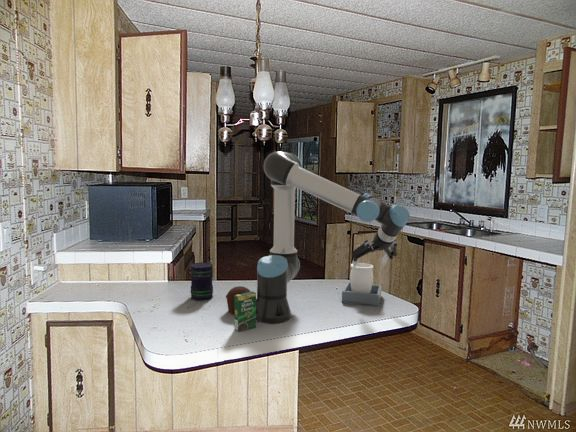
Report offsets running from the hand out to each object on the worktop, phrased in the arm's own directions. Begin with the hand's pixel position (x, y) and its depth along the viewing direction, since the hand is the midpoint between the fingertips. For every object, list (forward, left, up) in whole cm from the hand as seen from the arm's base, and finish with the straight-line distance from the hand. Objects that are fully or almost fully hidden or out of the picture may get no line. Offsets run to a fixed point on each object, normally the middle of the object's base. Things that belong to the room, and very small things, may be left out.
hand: (368, 263), depth 181 cm
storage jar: (-71, -19, -18) cm, 76 cm away
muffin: (-48, -30, -18) cm, 59 cm away
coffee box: (-39, -46, -18) cm, 63 cm away
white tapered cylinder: (-3, +5, -17) cm, 18 cm away
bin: (-2, +4, -17) cm, 18 cm away
